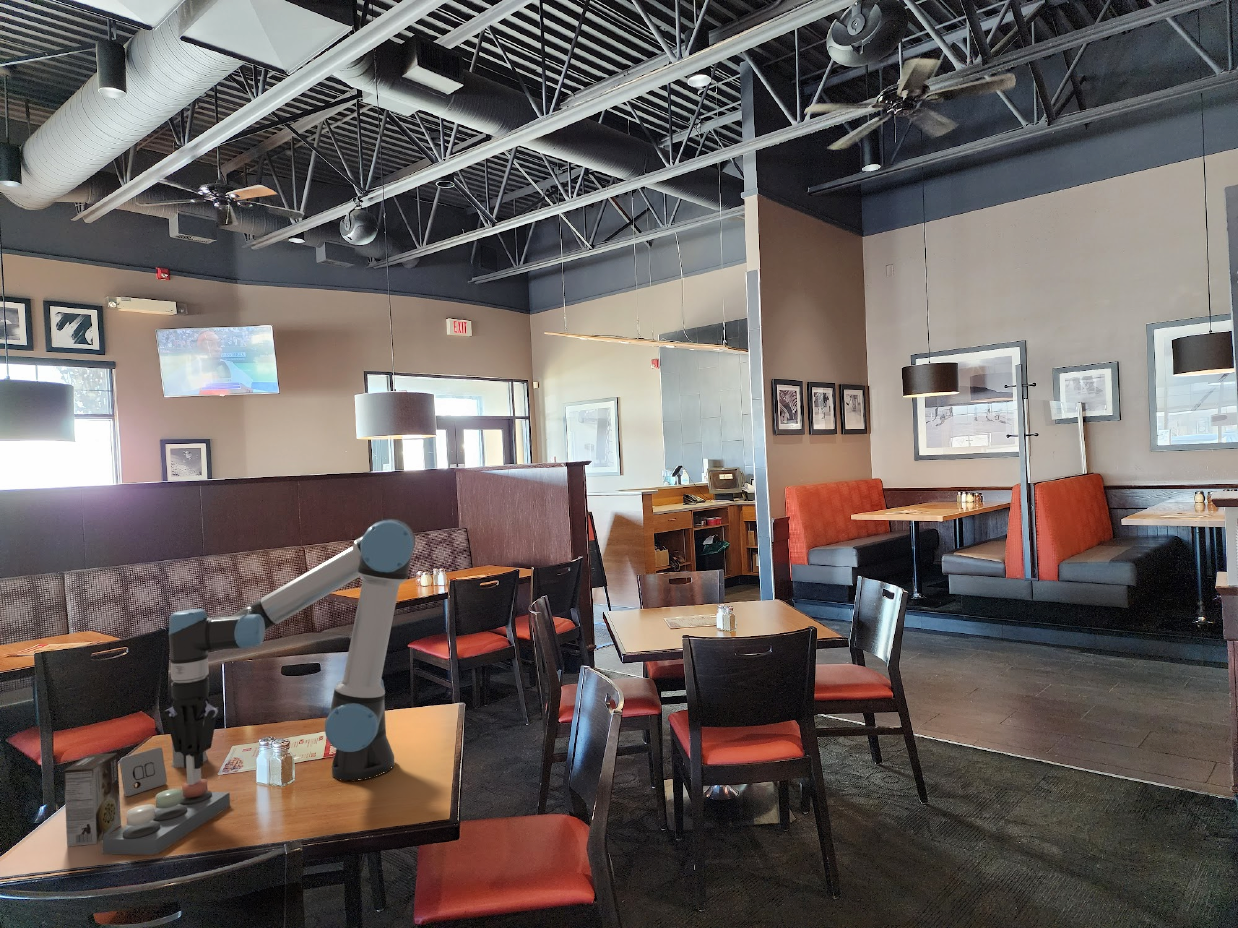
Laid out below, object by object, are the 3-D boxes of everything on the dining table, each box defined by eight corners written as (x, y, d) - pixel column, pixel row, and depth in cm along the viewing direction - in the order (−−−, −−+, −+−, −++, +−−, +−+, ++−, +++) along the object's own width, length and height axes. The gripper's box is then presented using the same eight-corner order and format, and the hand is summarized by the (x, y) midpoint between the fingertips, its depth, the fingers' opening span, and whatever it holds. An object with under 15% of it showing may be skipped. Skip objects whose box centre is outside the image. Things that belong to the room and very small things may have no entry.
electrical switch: (125, 798, 184) (122, 758, 185) (118, 795, 187) (115, 756, 188) (168, 784, 192) (165, 747, 192) (159, 782, 195) (157, 745, 195)
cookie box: (91, 827, 169) (88, 753, 169) (122, 824, 169) (119, 751, 169) (65, 847, 160) (61, 769, 160) (97, 844, 160) (94, 766, 160)
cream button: (160, 814, 160) (160, 804, 160) (142, 825, 155) (142, 814, 155) (139, 814, 161) (139, 804, 161) (120, 825, 156) (120, 814, 156)
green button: (187, 798, 168) (187, 788, 168) (171, 808, 163) (170, 798, 163) (167, 798, 169) (167, 788, 169) (150, 808, 164) (149, 797, 164)
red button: (212, 788, 176) (212, 778, 176) (197, 797, 171) (197, 787, 171) (192, 788, 177) (192, 778, 177) (177, 797, 172) (176, 787, 172)
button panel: (230, 805, 177) (229, 789, 177) (155, 854, 154) (154, 837, 154) (183, 804, 178) (182, 789, 178) (102, 853, 156) (102, 836, 156)
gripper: (152, 683, 172) (156, 788, 171) (204, 682, 170) (209, 789, 169) (176, 674, 179) (180, 775, 179) (226, 673, 177) (231, 775, 177)
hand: (194, 782), depth 174 cm, fingers closed
